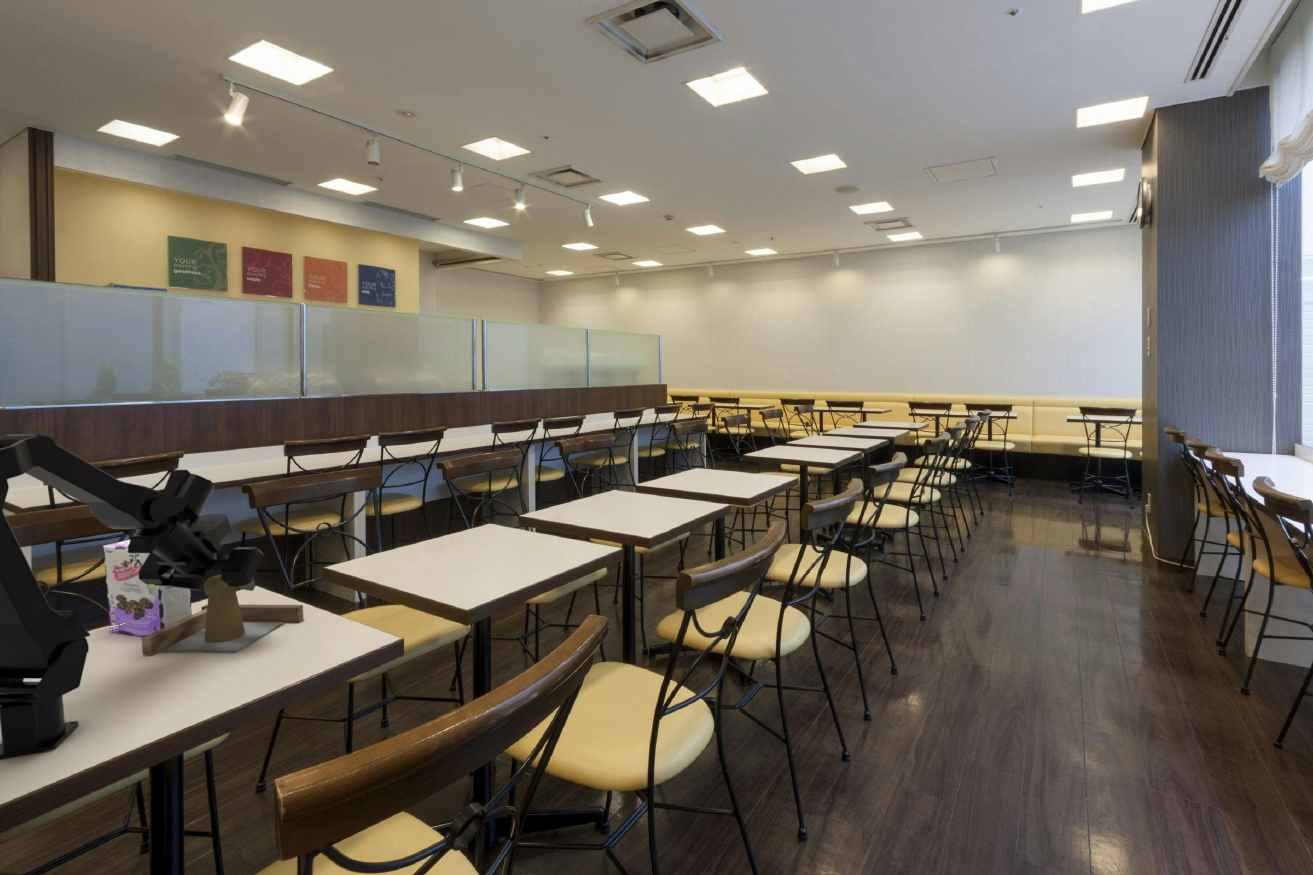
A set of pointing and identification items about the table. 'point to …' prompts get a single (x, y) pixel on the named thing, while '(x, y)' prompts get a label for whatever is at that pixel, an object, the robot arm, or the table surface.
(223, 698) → the table surface
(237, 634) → the cork
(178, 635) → the wood edged grey tray
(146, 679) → the table surface
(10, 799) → the table surface
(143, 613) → the candy box
